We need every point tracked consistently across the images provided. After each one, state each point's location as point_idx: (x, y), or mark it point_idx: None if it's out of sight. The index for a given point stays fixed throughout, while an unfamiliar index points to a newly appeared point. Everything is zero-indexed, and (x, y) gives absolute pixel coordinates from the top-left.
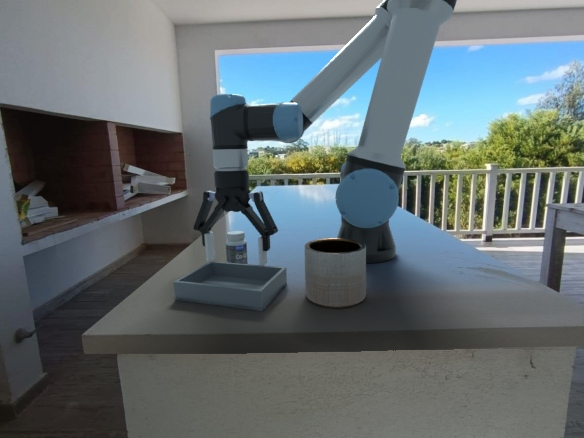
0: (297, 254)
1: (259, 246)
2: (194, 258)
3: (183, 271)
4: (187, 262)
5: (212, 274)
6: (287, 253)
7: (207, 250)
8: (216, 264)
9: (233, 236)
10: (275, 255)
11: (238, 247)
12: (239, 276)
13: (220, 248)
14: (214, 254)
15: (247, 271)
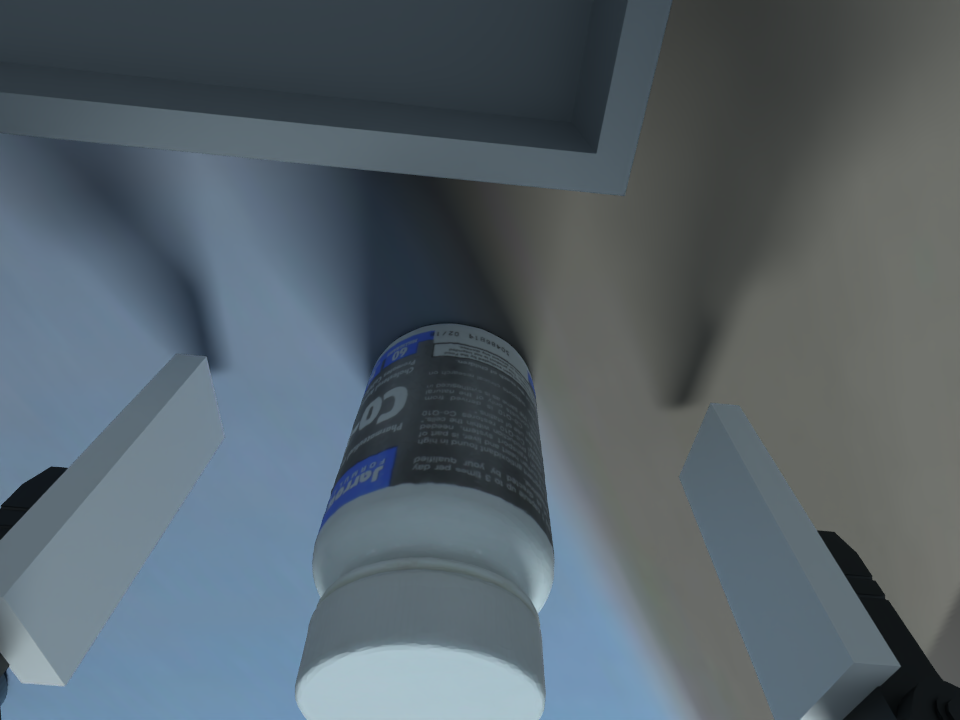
0: (184, 619)
1: (76, 493)
2: (867, 515)
3: (919, 250)
4: (912, 443)
5: (572, 121)
6: (254, 627)
7: (762, 479)
8: (520, 138)
9: (392, 610)
10: (307, 598)
11: (360, 482)
12: (247, 92)
13: (718, 662)
14: (691, 496)
15: (104, 86)
